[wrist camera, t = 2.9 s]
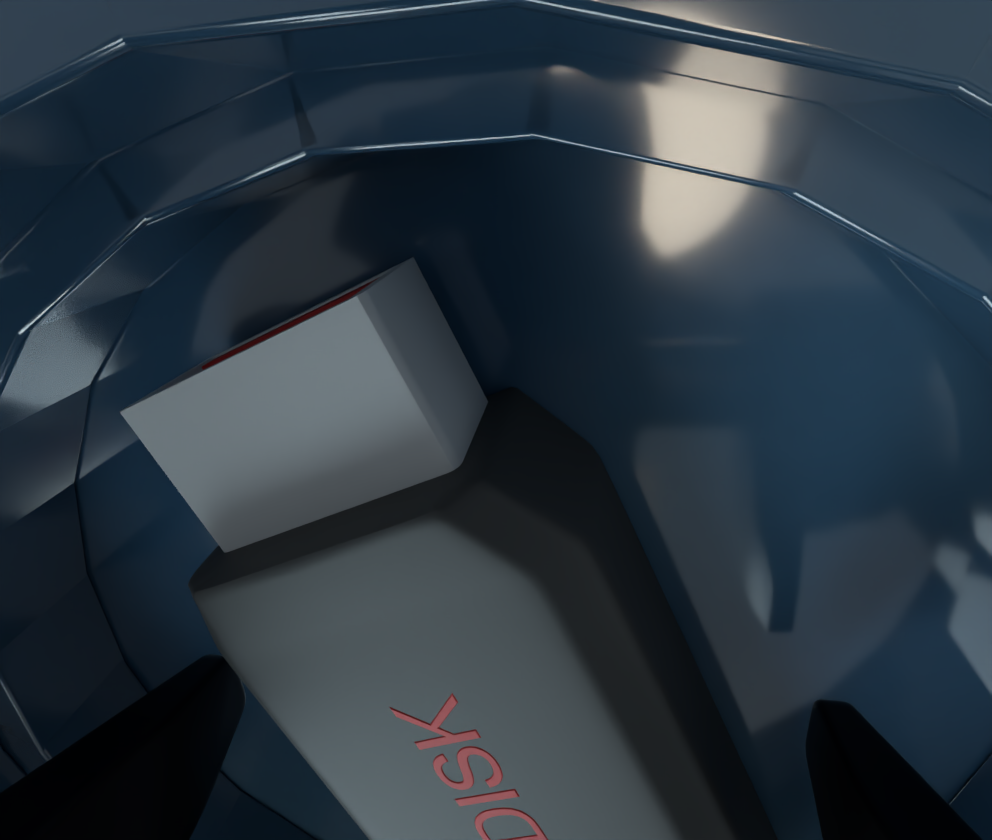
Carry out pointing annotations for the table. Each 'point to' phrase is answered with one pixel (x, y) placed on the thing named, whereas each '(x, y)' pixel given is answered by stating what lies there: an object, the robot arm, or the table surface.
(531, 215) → the bowl
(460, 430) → the usb drive
